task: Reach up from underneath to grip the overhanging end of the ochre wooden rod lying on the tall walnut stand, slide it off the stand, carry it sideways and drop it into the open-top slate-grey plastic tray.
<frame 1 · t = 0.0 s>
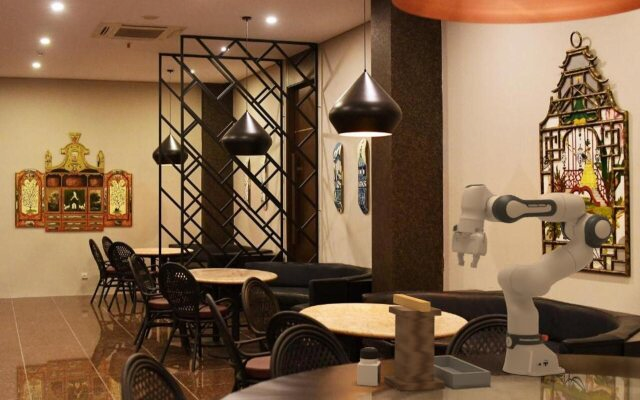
hand: (467, 266, 291), 39 cm above the table, tool pointing down, fingers open, 8 cm apart
stand: (413, 384, 273), on the table
rod: (411, 306, 276), point 26 cm above the table, touching stand
tray: (451, 378, 284), on the table
medicine bottle: (368, 384, 275), on the table
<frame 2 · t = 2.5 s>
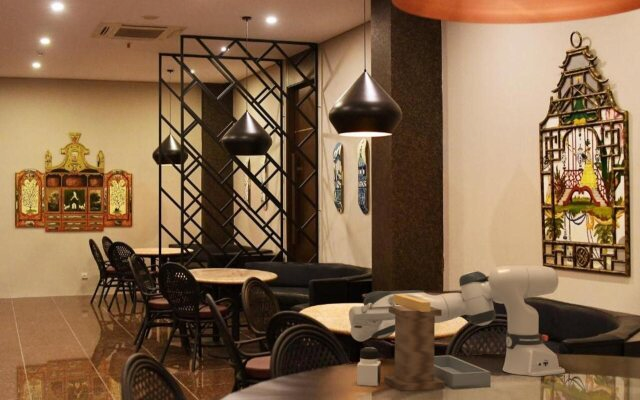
hand: (382, 304, 301), 23 cm above the table, tool pointing upward, fingers open, 8 cm apart
nothing on the table moved.
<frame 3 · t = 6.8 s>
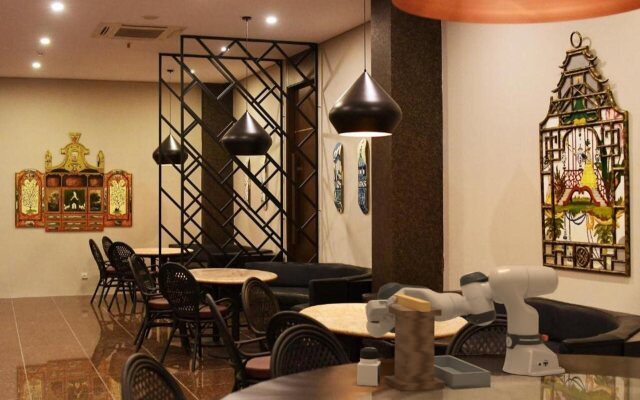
hand: (401, 298, 284), 28 cm above the table, tool pointing upward, fingers closed on rod, 3 cm apart
rod: (411, 306, 276), point 26 cm above the table, touching gripper, stand
everything else where it was.
when the fingers open (19 cm above the table, at t = 14.7 s): rod drops 4 cm, resting on arm, tray.
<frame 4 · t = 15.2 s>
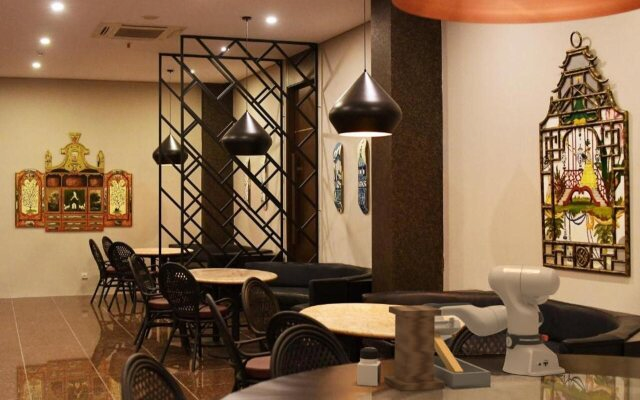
hand: (441, 319, 292), 19 cm above the table, tool pointing upward, fingers open, 8 cm apart
rod: (444, 357, 290), point 6 cm above the table, tilted 25°, touching arm, tray
everything else where it was.
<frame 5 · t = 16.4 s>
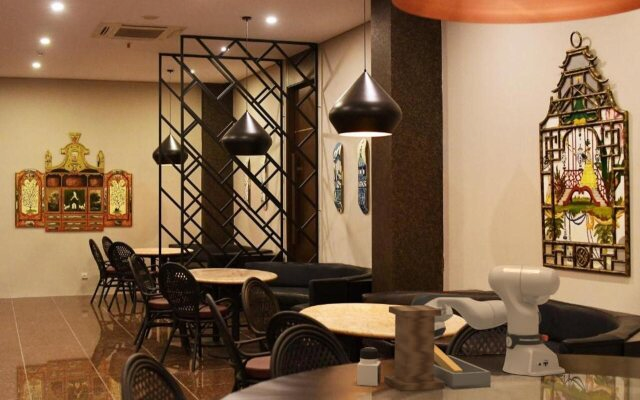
hand: (433, 306, 297), 23 cm above the table, tool pointing upward, fingers open, 8 cm apart
rod: (442, 364, 291), point 3 cm above the table, tilted 12°, touching tray
everything else where it was.
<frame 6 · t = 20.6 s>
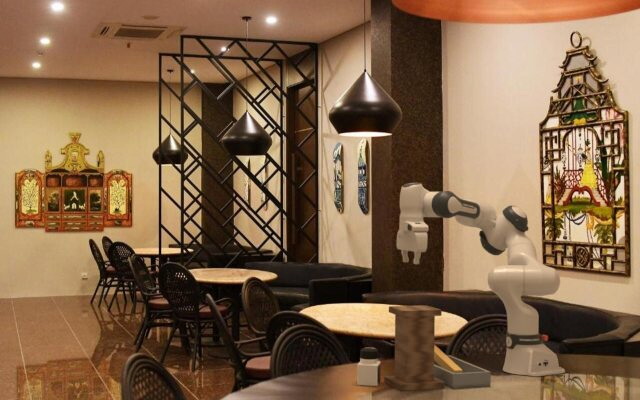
hand: (410, 263, 301), 39 cm above the table, tool pointing down, fingers open, 8 cm apart
nothing on the table moved.
at the end: rod inside the target area on the tray (6.9 cm from its centre), point 3.5 cm above the tray's base; the gripper is holding nothing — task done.
